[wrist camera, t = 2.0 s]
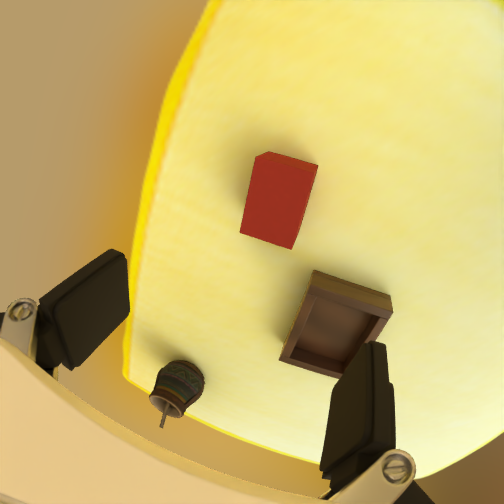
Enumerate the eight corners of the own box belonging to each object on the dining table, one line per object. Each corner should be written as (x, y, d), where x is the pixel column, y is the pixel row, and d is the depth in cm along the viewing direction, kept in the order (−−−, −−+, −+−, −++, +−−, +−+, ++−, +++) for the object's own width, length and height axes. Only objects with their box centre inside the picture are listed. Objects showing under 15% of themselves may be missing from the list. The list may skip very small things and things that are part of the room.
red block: (268, 151, 24) (255, 156, 20) (318, 165, 23) (314, 173, 20) (253, 217, 27) (239, 232, 24) (298, 232, 26) (291, 250, 23)
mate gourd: (207, 361, 39) (175, 413, 30) (212, 390, 42) (186, 438, 34) (164, 348, 41) (130, 394, 32) (174, 378, 44) (145, 421, 36)
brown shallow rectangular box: (313, 269, 28) (310, 284, 25) (390, 295, 26) (393, 312, 24) (283, 344, 33) (278, 360, 31) (348, 364, 32) (346, 381, 29)
